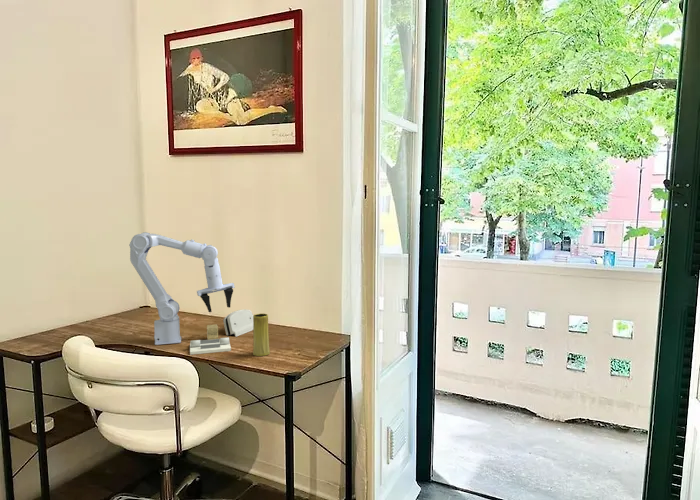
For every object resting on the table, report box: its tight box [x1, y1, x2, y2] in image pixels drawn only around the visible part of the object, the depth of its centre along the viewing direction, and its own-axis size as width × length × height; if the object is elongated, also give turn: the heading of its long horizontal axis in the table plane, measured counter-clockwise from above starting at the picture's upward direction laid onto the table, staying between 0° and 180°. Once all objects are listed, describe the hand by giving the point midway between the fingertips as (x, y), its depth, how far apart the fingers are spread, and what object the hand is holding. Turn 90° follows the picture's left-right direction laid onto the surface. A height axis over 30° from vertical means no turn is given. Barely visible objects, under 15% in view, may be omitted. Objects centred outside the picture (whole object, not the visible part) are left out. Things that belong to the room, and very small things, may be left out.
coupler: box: [206, 324, 219, 340], centre depth 197 cm, size 6×4×6 cm
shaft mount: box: [189, 336, 232, 356], centre depth 187 cm, size 14×12×3 cm
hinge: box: [223, 309, 254, 338], centre depth 210 cm, size 17×5×10 cm, turn 155°
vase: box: [252, 313, 271, 357], centre depth 179 cm, size 6×6×14 cm
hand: (219, 309), depth 197 cm, fingers open, 7 cm apart
